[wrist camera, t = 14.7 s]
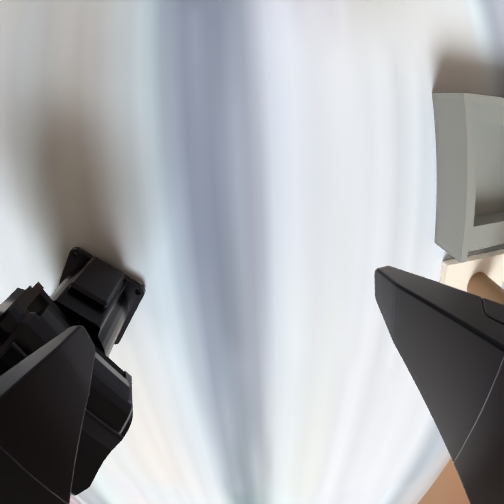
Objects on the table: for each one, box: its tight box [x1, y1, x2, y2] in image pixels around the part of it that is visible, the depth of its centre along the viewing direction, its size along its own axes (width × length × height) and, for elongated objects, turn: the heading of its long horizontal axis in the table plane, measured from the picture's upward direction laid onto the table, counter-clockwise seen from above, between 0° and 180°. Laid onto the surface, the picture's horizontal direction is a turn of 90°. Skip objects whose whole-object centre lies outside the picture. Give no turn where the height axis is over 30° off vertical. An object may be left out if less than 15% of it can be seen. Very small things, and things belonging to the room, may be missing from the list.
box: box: [432, 93, 504, 263], centre depth 19 cm, size 12×10×4 cm
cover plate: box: [439, 249, 504, 305], centre depth 21 cm, size 10×8×11 cm
